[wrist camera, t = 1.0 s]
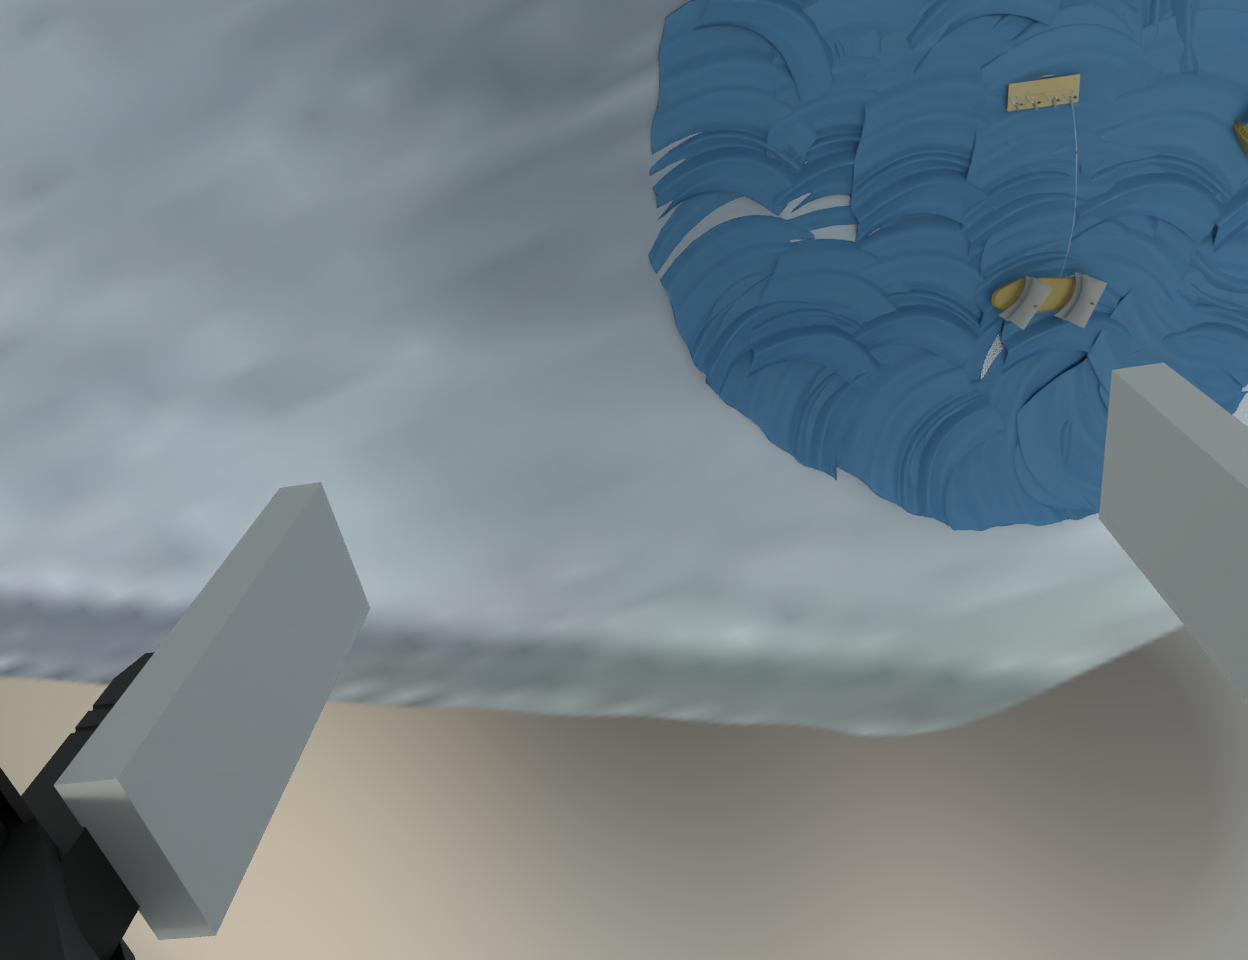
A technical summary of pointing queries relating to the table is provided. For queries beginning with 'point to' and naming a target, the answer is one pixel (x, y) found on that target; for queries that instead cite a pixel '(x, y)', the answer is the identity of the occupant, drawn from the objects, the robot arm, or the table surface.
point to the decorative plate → (957, 230)
